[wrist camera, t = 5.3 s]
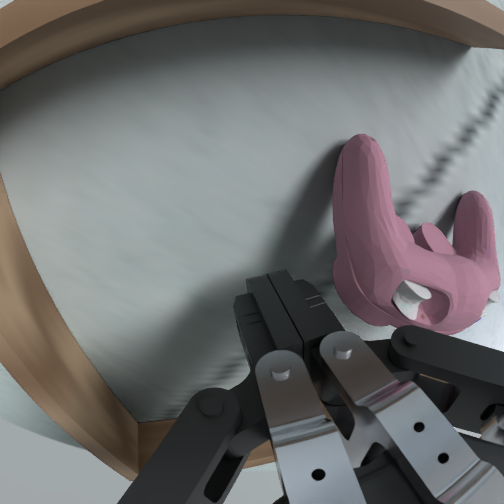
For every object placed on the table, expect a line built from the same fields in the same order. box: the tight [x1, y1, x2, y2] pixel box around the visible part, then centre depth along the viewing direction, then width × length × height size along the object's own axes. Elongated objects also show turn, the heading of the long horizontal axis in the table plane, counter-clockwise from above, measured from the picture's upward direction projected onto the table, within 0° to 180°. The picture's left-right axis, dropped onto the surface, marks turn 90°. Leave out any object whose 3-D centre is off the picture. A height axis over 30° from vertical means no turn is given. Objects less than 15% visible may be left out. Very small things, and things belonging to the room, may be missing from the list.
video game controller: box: [332, 134, 500, 335], centre depth 11 cm, size 10×5×7 cm, turn 75°
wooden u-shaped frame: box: [0, 0, 504, 481], centre depth 11 cm, size 22×23×4 cm
